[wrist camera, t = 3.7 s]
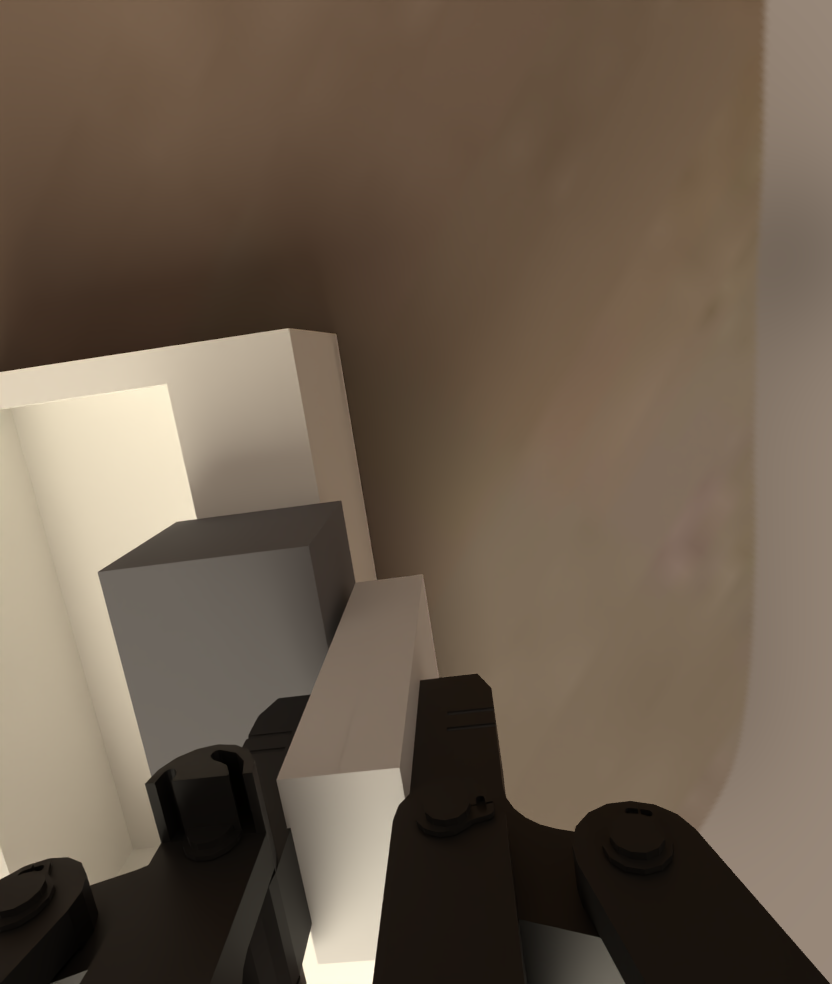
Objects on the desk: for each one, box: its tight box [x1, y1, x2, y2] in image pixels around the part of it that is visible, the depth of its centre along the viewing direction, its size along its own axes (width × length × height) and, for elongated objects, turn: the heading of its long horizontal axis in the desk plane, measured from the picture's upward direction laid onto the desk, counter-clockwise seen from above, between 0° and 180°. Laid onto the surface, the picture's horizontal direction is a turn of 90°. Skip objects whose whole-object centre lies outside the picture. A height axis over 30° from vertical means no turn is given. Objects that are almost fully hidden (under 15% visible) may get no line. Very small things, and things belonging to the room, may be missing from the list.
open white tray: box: [0, 328, 377, 984], centre depth 19 cm, size 18×12×6 cm, turn 8°
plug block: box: [98, 501, 356, 777], centre depth 14 cm, size 6×4×4 cm, turn 8°
